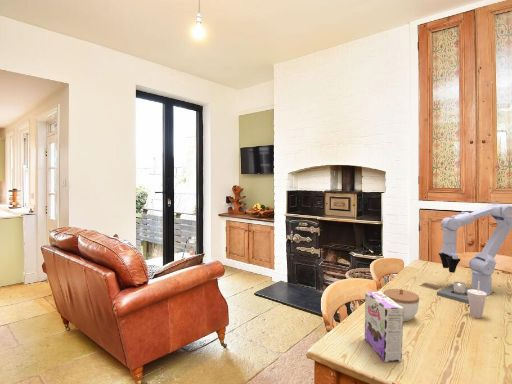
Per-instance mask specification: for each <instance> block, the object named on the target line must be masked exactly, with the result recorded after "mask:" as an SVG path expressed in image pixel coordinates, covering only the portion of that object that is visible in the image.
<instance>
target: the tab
mask: <svg viewBox="0 0 512 384" xmlns="http://www.w3.org/2000/svg"><path fill="white" fill-rule="evenodd" d="M418 286H419V287H422V288H427V289H431V290H434V291H439V290H441V288H442V289H443V286H442V285H438V284H434V283H430V282H423V283H422V284H420V285H418Z"/></svg>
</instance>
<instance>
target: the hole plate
mask: <svg viewBox="0 0 512 384" xmlns="http://www.w3.org/2000/svg"><path fill="white" fill-rule="evenodd" d="M470 289H472V287H470V288H469V287H466V286H465V296H461V295H458V294H454V293H453V292H454V283H452V284H450V285H447V286H446V287H443V288H442V289H439V290H437V292H436V296H439V297H442V298H446V299H449V300H452V301H453V300H454V301H456V302H461V303H465V304H467V307H470V306H469V298H468V293H467V290H470ZM473 290H475V289H473ZM485 293H487V292H485Z"/></svg>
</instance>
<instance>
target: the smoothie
mask: <svg viewBox="0 0 512 384" xmlns="http://www.w3.org/2000/svg"><path fill="white" fill-rule="evenodd" d="M479 287H480V281H478V290H473V289H472V288H471V289H470V290H467V293H468V298H469V304H468V305H469V306H468V307H469V313H470V316H471V317H473V318H476V319H482V317H483V313H484V307H485V302H486V298H487V297H488V295H487V294H486V293H487V292H486V293H485V292H483V291H480V290H479Z"/></svg>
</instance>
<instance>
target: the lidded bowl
mask: <svg viewBox="0 0 512 384" xmlns="http://www.w3.org/2000/svg"><path fill="white" fill-rule="evenodd" d="M383 293H384V294H385V295H386V296H388V297H389V298H390V299H392V300H393V301H394V302H396V303H397V304H398V305H400V306H402V307H403V308H404V309H403V322H409V321H410V320H411V319H413V318H414V317H415V316H416V315H417V314H418V310H419V303H420V302H419V301H420V296H419V295H418V294H417V293H416V292H413V291H409V290H406V289H402V288H389V289H388V288H387V289H385V290H384V291H383Z"/></svg>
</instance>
